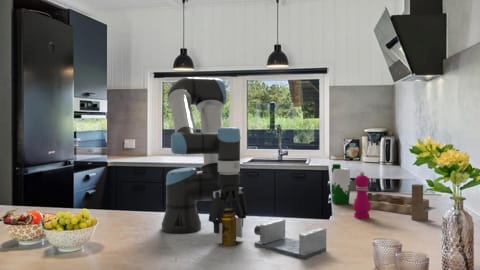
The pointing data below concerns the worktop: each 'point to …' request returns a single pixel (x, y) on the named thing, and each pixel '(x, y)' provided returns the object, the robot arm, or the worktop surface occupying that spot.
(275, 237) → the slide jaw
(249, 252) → the worktop surface
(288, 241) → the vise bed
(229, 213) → the condiment
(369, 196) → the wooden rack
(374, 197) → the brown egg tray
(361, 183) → the pepper mill
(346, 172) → the milk carton
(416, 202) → the wooden block
